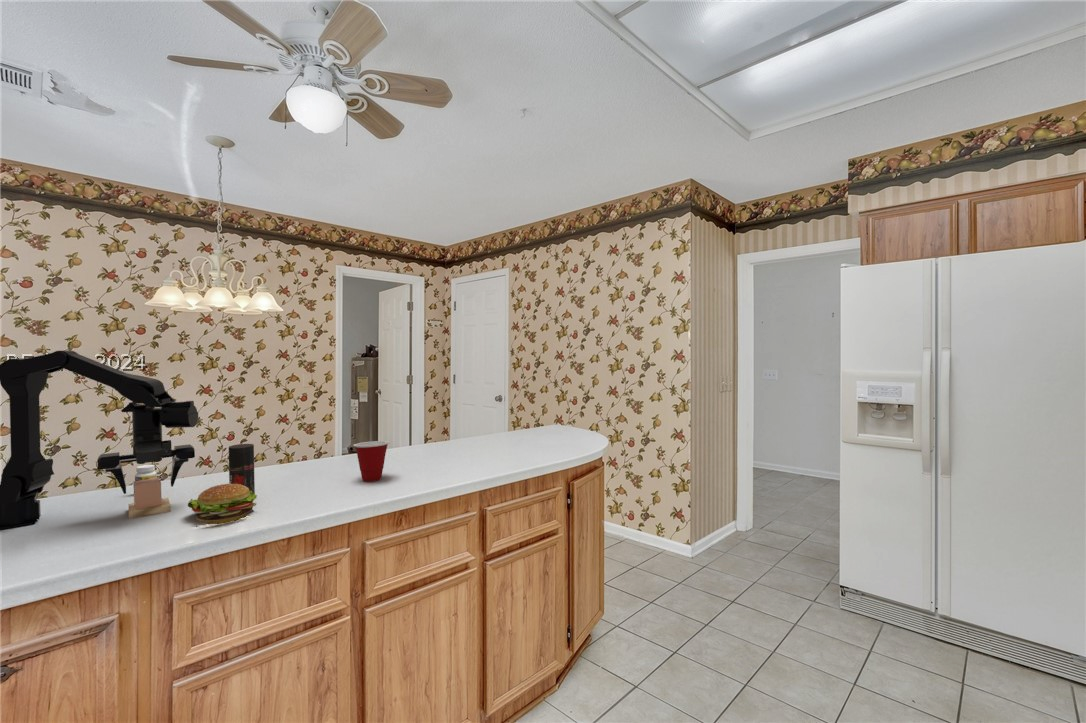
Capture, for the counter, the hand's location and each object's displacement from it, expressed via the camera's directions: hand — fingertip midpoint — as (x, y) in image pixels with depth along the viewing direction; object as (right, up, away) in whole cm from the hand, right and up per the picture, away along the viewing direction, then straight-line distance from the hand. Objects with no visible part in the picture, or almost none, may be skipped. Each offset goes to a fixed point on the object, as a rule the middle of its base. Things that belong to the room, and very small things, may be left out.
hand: (149, 489), depth 121 cm
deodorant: (+16, -6, +12) cm, 21 cm away
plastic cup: (+45, -5, +32) cm, 56 cm away
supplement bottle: (-13, -6, +15) cm, 21 cm away
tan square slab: (0, -5, 0) cm, 5 cm away
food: (+20, -7, -1) cm, 21 cm away
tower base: (0, -7, 0) cm, 7 cm away
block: (0, -4, 0) cm, 4 cm away
